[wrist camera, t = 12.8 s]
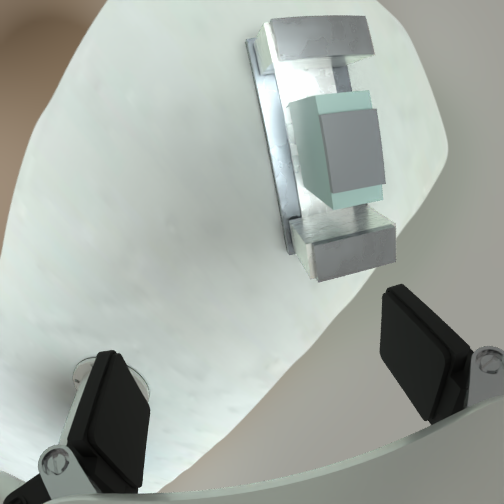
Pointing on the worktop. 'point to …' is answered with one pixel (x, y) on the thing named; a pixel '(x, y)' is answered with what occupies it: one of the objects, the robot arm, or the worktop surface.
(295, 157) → the grey blocky piece
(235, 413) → the worktop surface
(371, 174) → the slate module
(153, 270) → the worktop surface
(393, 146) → the worktop surface
